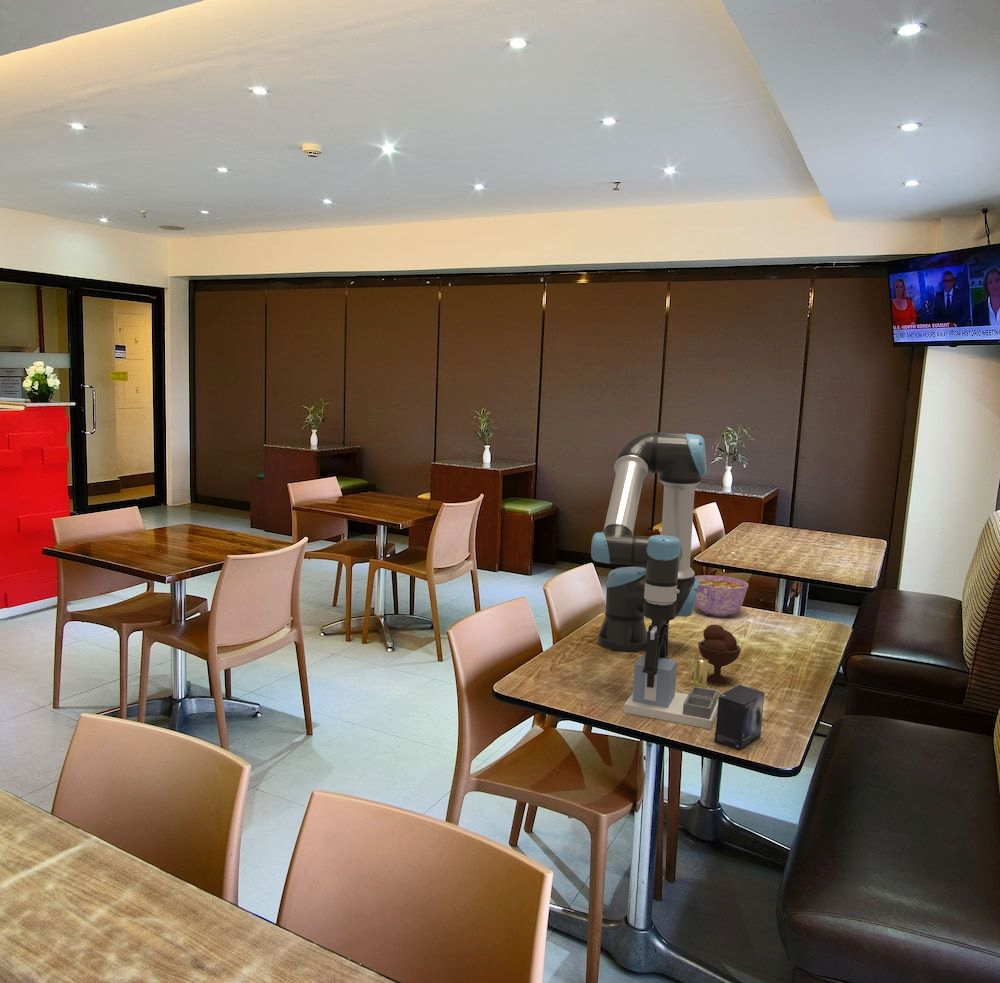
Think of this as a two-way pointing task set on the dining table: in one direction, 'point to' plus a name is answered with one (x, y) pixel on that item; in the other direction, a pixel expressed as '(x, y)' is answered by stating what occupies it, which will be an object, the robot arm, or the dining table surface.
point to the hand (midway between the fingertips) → (654, 693)
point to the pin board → (681, 708)
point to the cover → (664, 682)
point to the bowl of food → (720, 594)
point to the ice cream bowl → (718, 650)
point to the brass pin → (700, 672)
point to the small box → (739, 716)
